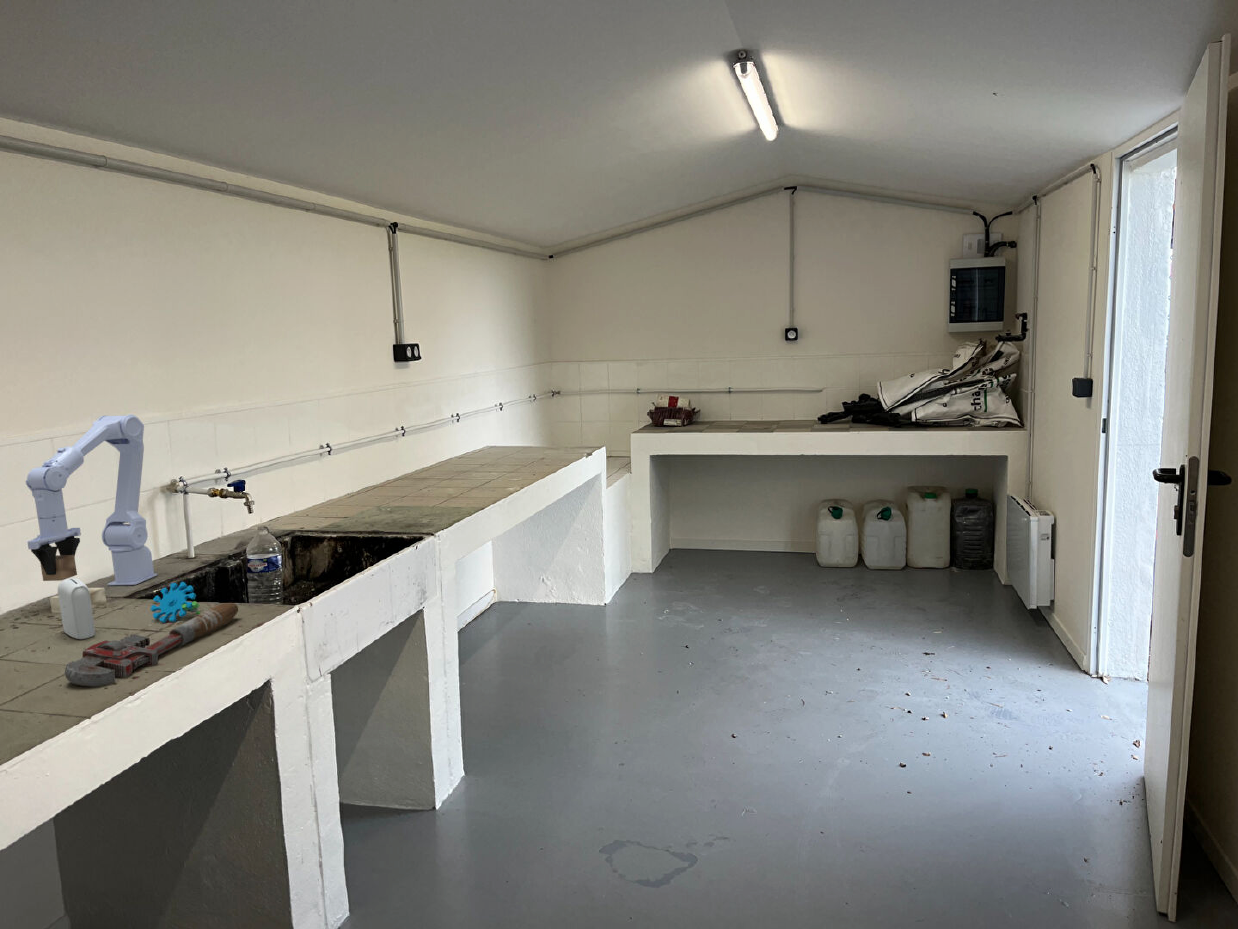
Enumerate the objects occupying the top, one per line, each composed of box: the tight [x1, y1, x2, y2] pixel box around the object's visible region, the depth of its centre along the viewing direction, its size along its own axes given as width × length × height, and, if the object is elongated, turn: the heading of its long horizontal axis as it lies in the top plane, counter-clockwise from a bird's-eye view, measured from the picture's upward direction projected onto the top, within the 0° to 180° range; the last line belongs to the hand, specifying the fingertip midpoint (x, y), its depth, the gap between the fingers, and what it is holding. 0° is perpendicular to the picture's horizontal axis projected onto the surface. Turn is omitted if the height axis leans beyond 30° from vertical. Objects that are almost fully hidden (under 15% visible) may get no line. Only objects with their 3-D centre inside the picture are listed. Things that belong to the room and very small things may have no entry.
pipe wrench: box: [64, 602, 239, 687], centre depth 182 cm, size 40×12×5 cm, turn 167°
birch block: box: [49, 587, 107, 614], centre depth 216 cm, size 8×8×4 cm
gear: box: [150, 581, 202, 624], centre depth 204 cm, size 11×6×10 cm
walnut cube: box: [39, 554, 78, 582], centre depth 218 cm, size 5×5×5 cm
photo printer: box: [57, 577, 96, 640], centre depth 194 cm, size 10×4×12 cm, turn 47°
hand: (59, 571), depth 218 cm, fingers closed on walnut cube, 5 cm apart
